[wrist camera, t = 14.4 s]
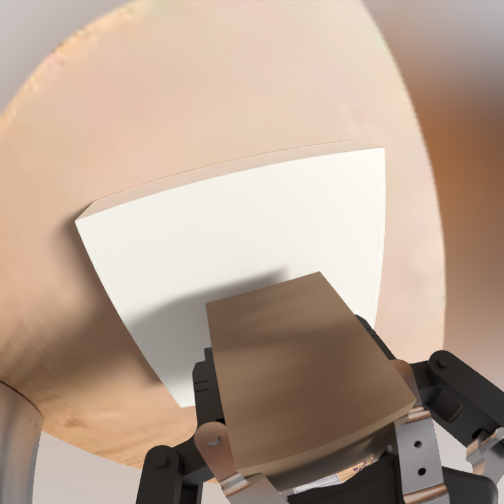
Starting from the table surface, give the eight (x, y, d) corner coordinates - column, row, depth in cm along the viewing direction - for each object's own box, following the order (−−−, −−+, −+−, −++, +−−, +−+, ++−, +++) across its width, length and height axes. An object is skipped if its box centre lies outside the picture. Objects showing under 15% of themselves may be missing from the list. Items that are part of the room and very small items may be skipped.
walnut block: (232, 373, 14) (264, 495, 7) (205, 303, 11) (236, 470, 5) (321, 346, 14) (381, 452, 8) (319, 271, 12) (417, 399, 6)
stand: (179, 375, 19) (181, 407, 16) (95, 200, 12) (74, 221, 10) (351, 325, 20) (369, 350, 18) (351, 140, 14) (384, 147, 11)
